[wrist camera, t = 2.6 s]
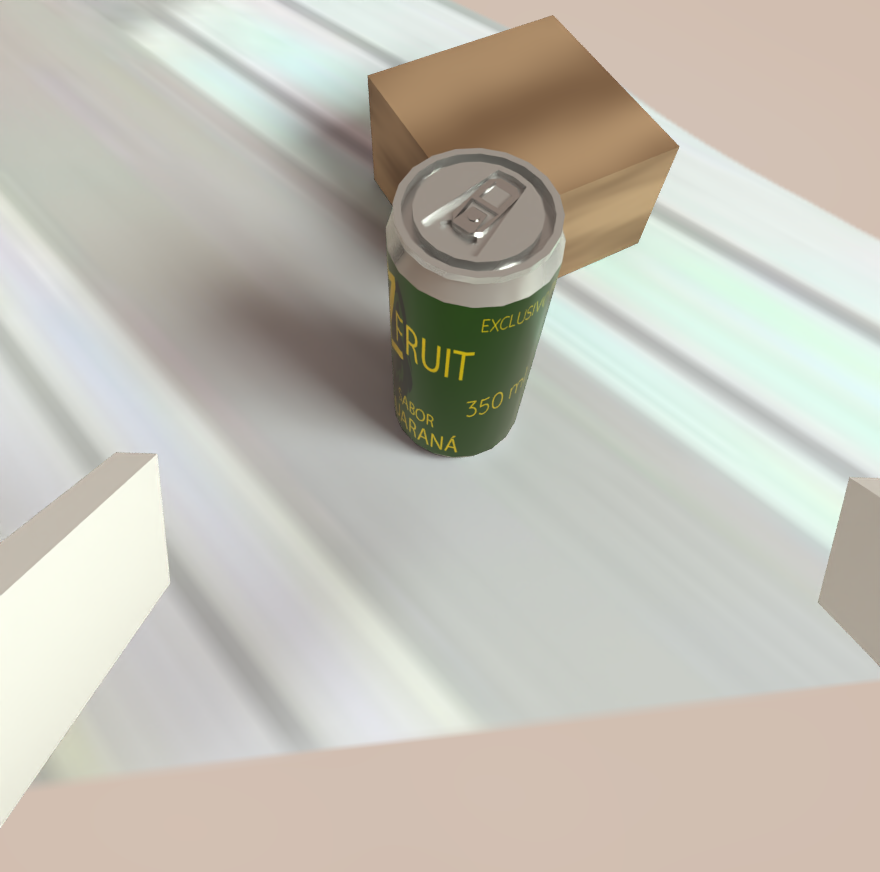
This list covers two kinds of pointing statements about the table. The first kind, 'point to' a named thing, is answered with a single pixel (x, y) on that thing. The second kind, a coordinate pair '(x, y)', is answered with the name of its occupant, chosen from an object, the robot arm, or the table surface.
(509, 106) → the walnut block
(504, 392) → the guarana soda can
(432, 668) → the table surface
